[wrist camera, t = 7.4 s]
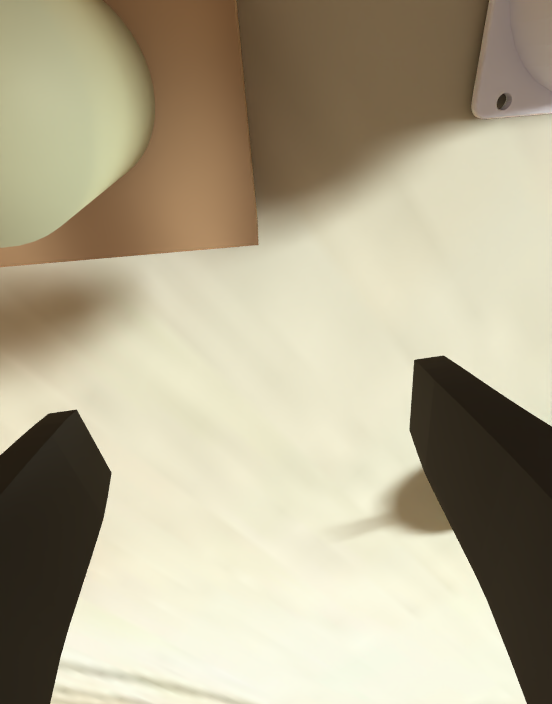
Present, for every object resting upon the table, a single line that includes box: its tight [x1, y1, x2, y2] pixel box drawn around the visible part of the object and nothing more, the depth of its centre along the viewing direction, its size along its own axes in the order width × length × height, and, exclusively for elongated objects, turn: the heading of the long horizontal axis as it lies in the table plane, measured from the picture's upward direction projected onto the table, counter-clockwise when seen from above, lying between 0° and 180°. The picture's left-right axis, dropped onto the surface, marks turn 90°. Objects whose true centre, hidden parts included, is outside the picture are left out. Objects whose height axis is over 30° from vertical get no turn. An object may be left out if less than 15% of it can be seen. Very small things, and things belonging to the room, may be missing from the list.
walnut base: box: [0, 0, 258, 267], centre depth 13 cm, size 10×10×3 cm
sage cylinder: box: [0, 0, 155, 248], centre depth 9 cm, size 5×5×6 cm
